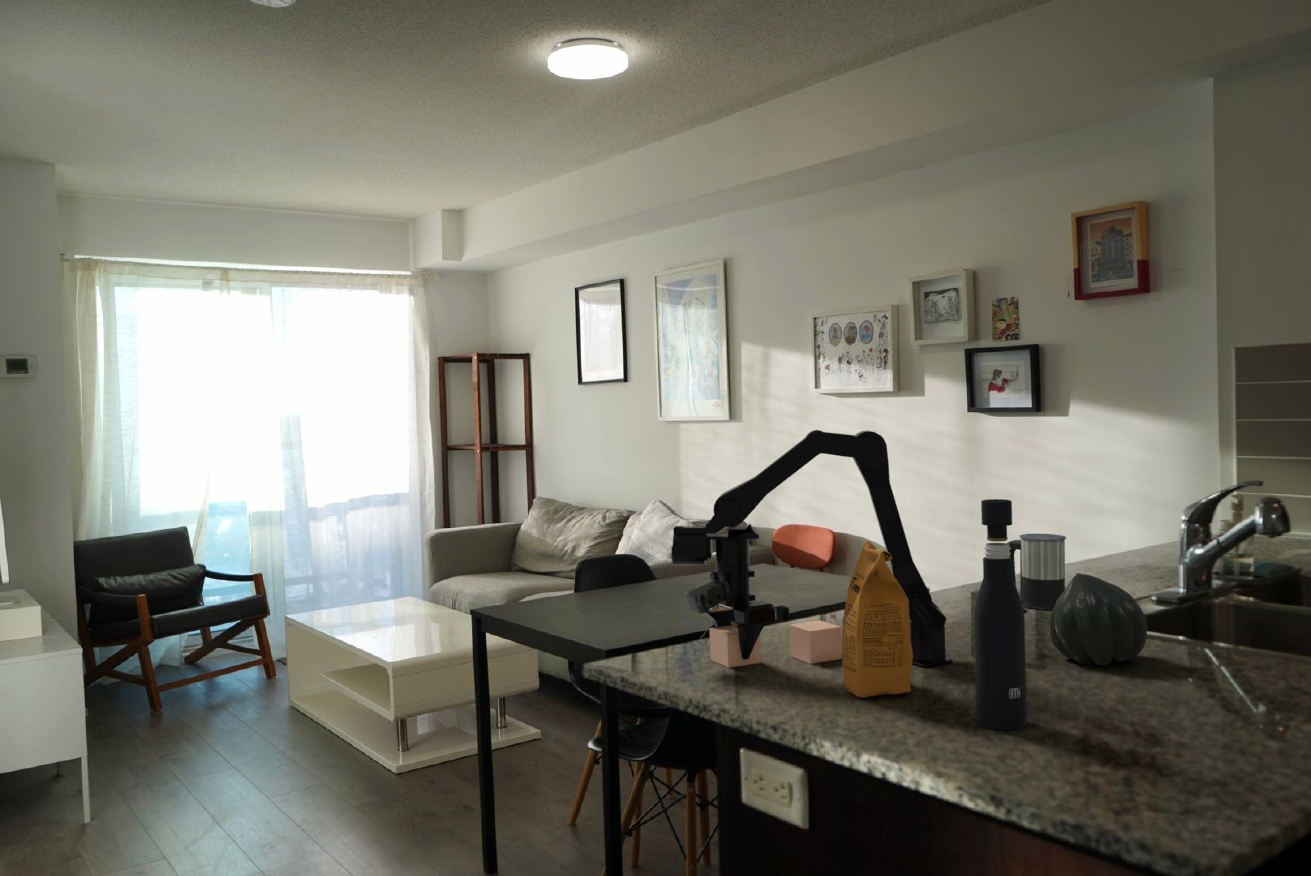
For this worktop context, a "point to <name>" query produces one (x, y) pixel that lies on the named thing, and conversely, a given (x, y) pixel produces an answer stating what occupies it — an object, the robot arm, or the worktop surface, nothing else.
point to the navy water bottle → (999, 630)
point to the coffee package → (876, 629)
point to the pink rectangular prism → (815, 641)
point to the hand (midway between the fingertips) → (735, 655)
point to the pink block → (731, 647)
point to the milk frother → (1040, 569)
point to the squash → (1097, 622)
